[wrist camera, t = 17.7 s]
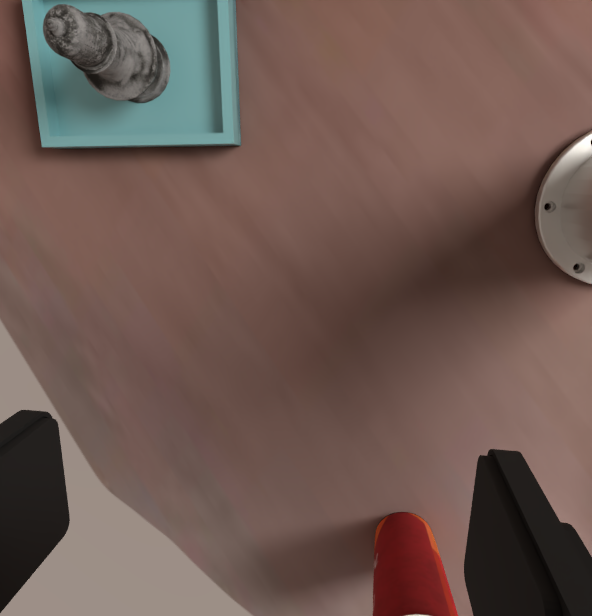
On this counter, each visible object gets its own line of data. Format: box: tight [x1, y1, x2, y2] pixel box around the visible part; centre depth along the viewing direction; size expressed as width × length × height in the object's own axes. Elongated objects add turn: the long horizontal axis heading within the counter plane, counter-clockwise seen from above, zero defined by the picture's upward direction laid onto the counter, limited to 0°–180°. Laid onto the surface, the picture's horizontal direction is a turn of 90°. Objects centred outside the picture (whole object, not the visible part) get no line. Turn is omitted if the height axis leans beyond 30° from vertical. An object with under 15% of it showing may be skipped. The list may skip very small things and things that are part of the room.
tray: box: [22, 0, 241, 149], centre depth 39 cm, size 16×12×2 cm
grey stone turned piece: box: [43, 4, 171, 103], centre depth 33 cm, size 6×6×12 cm
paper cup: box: [373, 512, 458, 616], centre depth 42 cm, size 8×8×14 cm
